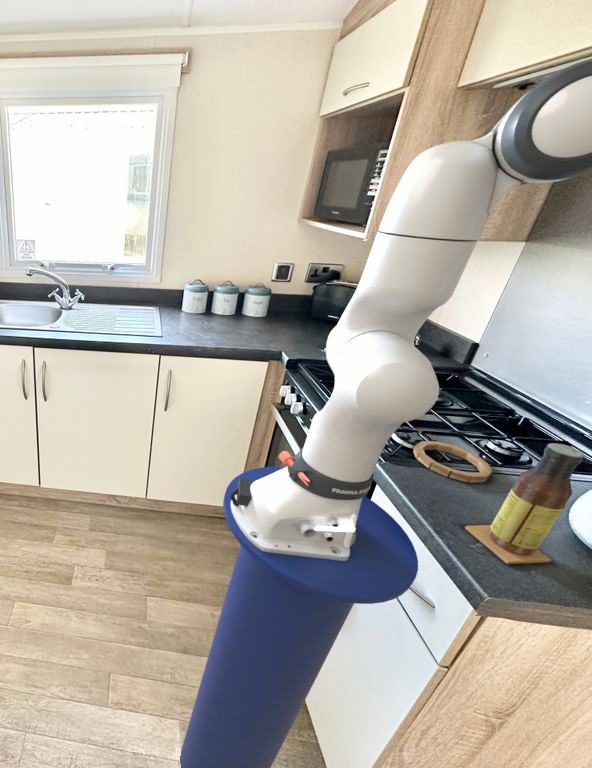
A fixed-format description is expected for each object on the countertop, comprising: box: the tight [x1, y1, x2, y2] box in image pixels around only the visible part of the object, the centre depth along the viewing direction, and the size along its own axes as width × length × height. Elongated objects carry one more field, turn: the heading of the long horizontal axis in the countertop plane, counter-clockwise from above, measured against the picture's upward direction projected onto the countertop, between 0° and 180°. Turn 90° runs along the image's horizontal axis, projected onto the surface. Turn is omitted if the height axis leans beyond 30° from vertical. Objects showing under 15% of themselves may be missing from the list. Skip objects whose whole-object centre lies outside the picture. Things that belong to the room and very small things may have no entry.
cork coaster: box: [464, 524, 552, 565], centre depth 73 cm, size 8×8×1 cm
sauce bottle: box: [489, 442, 585, 555], centre depth 68 cm, size 7×6×20 cm
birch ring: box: [412, 440, 493, 484], centre depth 94 cm, size 13×13×2 cm
